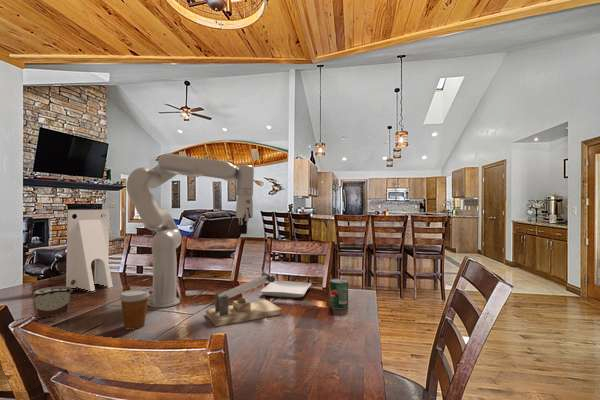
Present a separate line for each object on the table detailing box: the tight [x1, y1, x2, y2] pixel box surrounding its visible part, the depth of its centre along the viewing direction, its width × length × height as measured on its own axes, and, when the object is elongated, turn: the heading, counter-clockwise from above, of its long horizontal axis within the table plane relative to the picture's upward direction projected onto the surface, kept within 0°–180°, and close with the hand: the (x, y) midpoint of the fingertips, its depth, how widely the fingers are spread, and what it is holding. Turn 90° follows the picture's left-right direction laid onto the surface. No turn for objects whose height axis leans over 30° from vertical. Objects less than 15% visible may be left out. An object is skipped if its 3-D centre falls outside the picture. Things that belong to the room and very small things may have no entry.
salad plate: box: [260, 280, 312, 299], centre depth 160 cm, size 21×21×3 cm
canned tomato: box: [329, 278, 349, 310], centre depth 139 cm, size 8×8×11 cm
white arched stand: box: [65, 209, 114, 292], centre depth 167 cm, size 20×14×40 cm
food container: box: [32, 285, 73, 319], centre depth 126 cm, size 12×6×10 cm, turn 134°
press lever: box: [218, 272, 276, 300], centre depth 128 cm, size 23×8×2 cm, turn 121°
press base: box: [205, 291, 283, 327], centre depth 127 cm, size 26×14×9 cm, turn 121°
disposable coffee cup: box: [119, 288, 151, 330], centre depth 114 cm, size 10×10×12 cm
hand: (242, 233), depth 145 cm, fingers closed
